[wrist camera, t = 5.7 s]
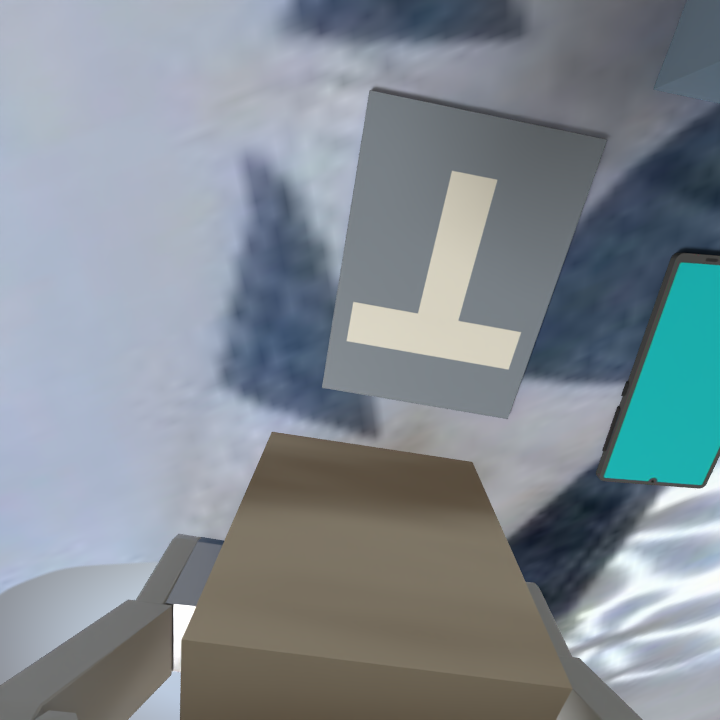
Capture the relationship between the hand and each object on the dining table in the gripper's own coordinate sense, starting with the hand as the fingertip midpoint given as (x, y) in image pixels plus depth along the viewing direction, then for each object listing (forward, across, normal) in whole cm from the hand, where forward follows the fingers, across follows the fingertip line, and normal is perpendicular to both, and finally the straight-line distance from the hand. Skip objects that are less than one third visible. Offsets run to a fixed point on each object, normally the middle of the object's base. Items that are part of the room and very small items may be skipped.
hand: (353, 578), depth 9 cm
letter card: (+16, -4, -5) cm, 17 cm away
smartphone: (+16, -20, -2) cm, 26 cm away
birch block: (+2, 0, 0) cm, 2 cm away
